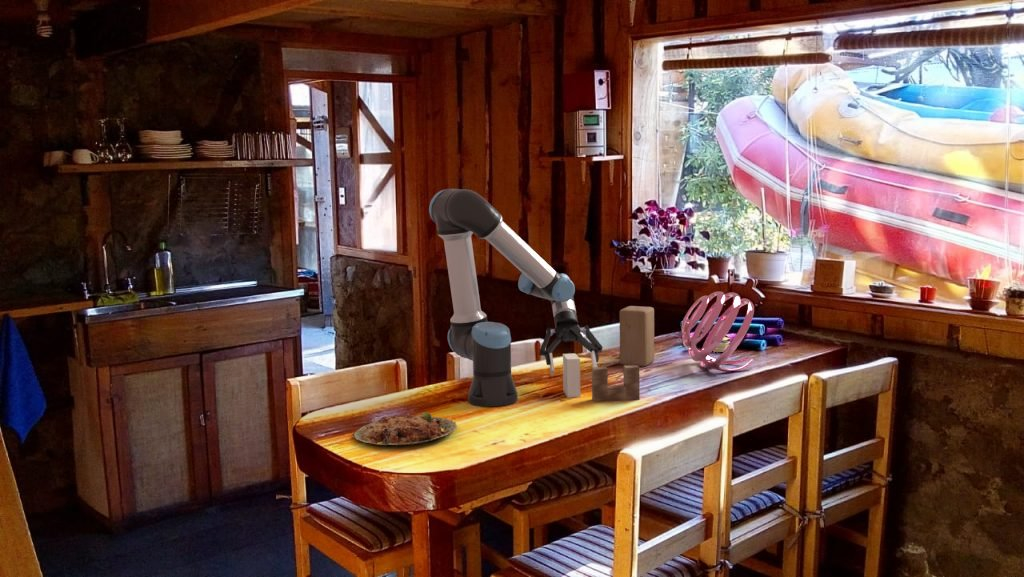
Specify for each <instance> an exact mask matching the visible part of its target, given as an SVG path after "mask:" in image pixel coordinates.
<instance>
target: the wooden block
mask: <svg viewBox="0 0 1024 577" xmlns="http://www.w3.org/2000/svg"><path fill="white" fill-rule="evenodd" d="M654 361H655V308H654V307H652V306H638V305H629V306H626V307H624V308H622V309H620V310H619V364H621V365H623V366H628V365H637V366H639V367H647V366H648V365H650V364H652V363H653V362H654Z"/></svg>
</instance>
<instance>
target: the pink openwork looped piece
mask: <svg viewBox="0 0 1024 577" xmlns="http://www.w3.org/2000/svg"><path fill="white" fill-rule="evenodd" d="M714 297H716V301H715V302H714V303H713V304H712V305H711V307H709V309H708V310H707V312H705V311H706V309H707V307H708V304H709V302H710V301H712V299H713V298H714ZM731 298H732V300H733V301H732V304H731V305H730V306H729V307H728V308H727V309H726V310H725V311H724V312H723V313H722V314H721V311H722V309H723V306H724V304H725V302H726V301H727V300H729V299H731ZM700 302H701V303H700ZM699 303H700V304H699ZM698 304H699V305H698ZM697 305H698V306H697ZM745 305H747V309H746V310H747V311H746V314H745V317H744V319H743V322H742V324H741V326H740V328H739V330H737V333H736V335H735V336H734V337H733V339H732V341H730V343H729V346H728V347H727V349H726V350H725V351H724V352H723V353H720V355H719V356H717V358H715V357H712V356H710V354H712V353H713V352H712V351H713V350H714V349H715V348H716V347H717V346H718V345H719V344H720V342H721V341H722V340H723V338H724V337H726V335H727V334H728V333H729V331H730V329H731V328H732V326H733V324H734V323H735V321H736V318H737V317H738V316H737V315H738V314H739V311H740V308H741V307H743V306H745ZM696 307H697V308H696ZM694 309H695V311H694V312H693V310H694ZM692 312H693V313H692ZM691 313H692V315H691ZM704 313H705V314H704ZM720 314H721V315H720ZM754 314H755V305H754V304H753V302H752V301H751V300H750V299H748V298H744V297H743V298H741V296H740V295H739V294H738V293H736V292H728V293H724V292H723V291H714V292H712V293H710V294H709V295H703V296H701V297H699V298H698V299H696V300H695V302H694V303H693V304H692V305H691V306H690V308H689V309H688V311H687V312H686V314H685V316H684V317H683V320H682V322H681V334H682V335H681V336H682V344H683V346H684V347H685V348H686V349H688V355H689V357H690V358H691V360H693V361H694V362H699V365H700V366H701V367H702V368H703V369H705V370H707V371H712V370H713V371H718V372H723V373H732V372H731V371H735V372H738V370H739V371H741V369H742V370H743V369H745V368H747V367H748V366H750V364H752V363H753V361H754V359H753V358H752V359H751V357H750V356H748V357H745V358H741V359H736V360H727V359H729V357H730V356H731V355H732V354H733V353H734V352H735V351H736V349H737V347H738V346H739V345H740V344H741V343H742V340H743V339H744V337H745V336H746V334H747V332H748V330H749V329H750V326H751V323H752V321H753V317H754ZM690 315H691V316H690ZM703 315H704V316H703ZM719 315H720V317H719ZM689 316H690V318H689ZM718 317H719V319H718ZM701 318H702V319H701ZM700 319H701V320H700ZM717 319H718V320H717ZM698 322H699V323H698ZM697 323H698V324H697ZM696 325H697V326H696ZM713 325H714V326H713ZM695 326H696V328H695V330H694V332H693V333H692V334H693V335H691V330H692V329H693V328H694V327H695ZM708 332H709V333H708ZM706 334H708V335H707V337H706V339H705V341H704V343H703V345H702V347H701V350H699V349H698V348H697V344H698V343H699V342H701V340H702V339H703V338H704V337H705V336H706ZM748 360H749V361H748ZM746 361H747V363H745V364H744V365H742V366H739V367H737V368H725V367H721V365H722V364H731V365H737V364H741V363H744V362H746Z"/></svg>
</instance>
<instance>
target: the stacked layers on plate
mask: <svg viewBox="0 0 1024 577" xmlns="http://www.w3.org/2000/svg"><path fill="white" fill-rule="evenodd" d="M729 339H731V338H730V337H726V336H725V337H724V338H723V340H722V341H721V342H720V344H719V345H718V346H717V347H716V348H715V349H714V350H713V352H712V353H715V352H717V353H718V352H724V351H725V350H726V349H727V347H728V346H729V345H730V343H731V341H730V340H729Z"/></svg>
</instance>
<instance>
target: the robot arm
mask: <svg viewBox="0 0 1024 577" xmlns="http://www.w3.org/2000/svg"><path fill="white" fill-rule="evenodd" d="M428 212H429V215H430V218H431V220H432V222H434V224H436V230H437V236H438V237H440V238H441V239H442V240H443V243H444V252H445V257H446V258H445V259H446V265H447V271H448V272H447V273H448V279H449V287H450V293H451V299H452V308H453V315H452V316H451V318H450V321H449V322H450V327H449V329H448V332H447V342H448V345H449V347H450V349H451V350H452V352H454V353H455V354H456V355H457V356H460V357H461V358H464V359H467V360H470V361H472V369H473V370H472V371H473V372H472V374H473V376H472V380H471V384H470V387H469V390H468V396H467V398H468V403H469V404H471V405H475V406H478V407H501V406H503V407H505V406H508V405H512V404H514V403H516V402H517V401H518V400H519V399H518V398H519V397H518V391H517V388H516V385H515V382H514V378H513V375H512V347H511V346H512V345H511V344H512V337H511V331H510V328H509V327H508V326H507V325H505V324H504V323H501V322H495V321H488V316H487V314H486V313H485V312H484V311H482V308H481V301H480V294H479V286H478V278H477V271H476V270H477V269H476V263H475V257H474V249H473V241H472V235H473V234H474V235H475V236H476V237H478V238H479V239H482V240H483V239H484V240H486V241H487V242H488V243H489V244H490V245H491V246H493V247H494V248H495V250H497V252H499V253H500V254H501V255H502V256H504V258H506V260H508V261H509V262H510V263H511V264H512V266H514V267H516V269H518V271H520V272H521V274H520V276H519V279H518V283H517V286H518V289H519V290H520V291H521V292H523V293H525V294H526V295H532V296H534V297H537V298H541V299H544V300H548V301H550V302H551V308H552V314H553V320H554V326H555V328H551V327H550V326H548V327H547V328H546V332H545V336H544V339H543V341H542V344H541V346H540V348H539V353H538V355H539V356H540V357H542V356H544V359H545V363H546V365H547V366H549V368H550V375H551V376H555V370H556V369H555V365H554V364H555V363H554V358H553V352H554V350H555V349H556V348H557V347H558V345H559V344H561V342H562V341H563V342H564V343H567V342H574V341H575V342H576V343H577V344H580V345H581V346H582V347H584V348H585V349H586V350H587V351H589V352H590V358H591V359H590V360H591V363H592V367H598V363H599V359H600V358H599V354H601V353H603V352H602V351H603V349H604V348H603V347H604V346H602V344H601V343H600V342H599V340H598V339H597V338H596V337H595V335H594V334H593V333H592V332H591V330H590V327H589V325H584V327H583V326H582V327H580V325H579V320H578V316H577V310H576V305H575V298H574V296H575V292H576V289H575V284H574V282H573V281H572V280H571V278H570V277H569V275H567V273H559V272H557V271H556V270H555V269H554V268H553V267H552V266H551V265H550V264H548V262H546V261H545V259H543V257H541V255H539V254H538V253H537V252H536V251H535V250H534V249H533V248H532V247H531V246H530V245H529V244H528V243H527V242H526V241H525V240H524V239H522V238H521V237H520V236H519V235H518V234H517V232H515V230H513V229H512V228H511V227H510V226H509V225H507V223H506V222H504V221H503V216H502V214H501V213H500V212H499V211H498V210H497V209H496V208H495V207H494V206H493V205H491V203H489V202H488V200H487V199H485V198H484V197H483V196H482V195H480V194H479V193H477V192H476V191H474V190H471V189H465V188H464V189H460V188H447V189H442V190H440V191H438V192H436V193H435V194H434V195H433V197H432V198H431V200H430V202H429V208H428ZM554 334H555V336H556V337H555V339H554V340H553V341H552V342H551V344H550V345H549V346H548V344H549V341H550V339H551V338H550V337H552V336H553V335H554ZM582 334H583V335H585V337H584V336H583V335H582ZM547 346H548V347H547ZM546 348H547V349H546Z"/></svg>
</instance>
